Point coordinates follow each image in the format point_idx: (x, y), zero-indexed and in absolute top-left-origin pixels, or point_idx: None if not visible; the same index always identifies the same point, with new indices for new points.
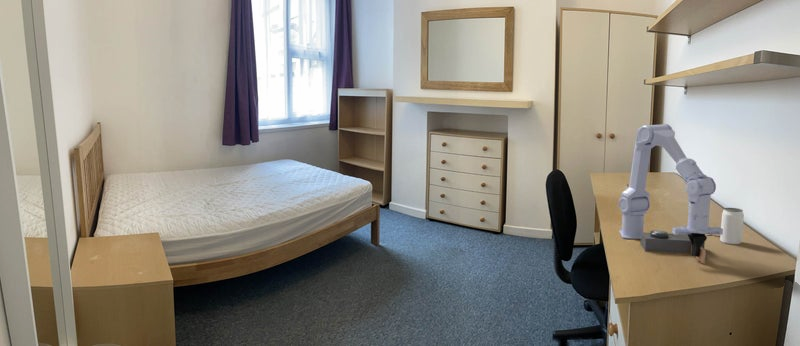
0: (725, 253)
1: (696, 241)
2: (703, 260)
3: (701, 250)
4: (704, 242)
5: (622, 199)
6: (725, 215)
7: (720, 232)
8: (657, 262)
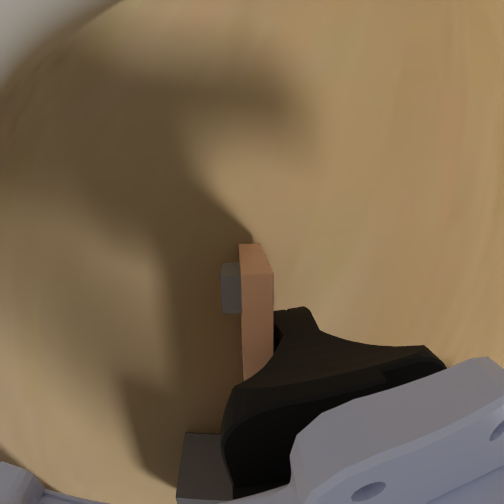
0: (79, 437)
1: (377, 350)
2: (251, 248)
3: (272, 311)
4: (177, 490)
5: None
6: None
7: (8, 489)
8: (493, 239)
